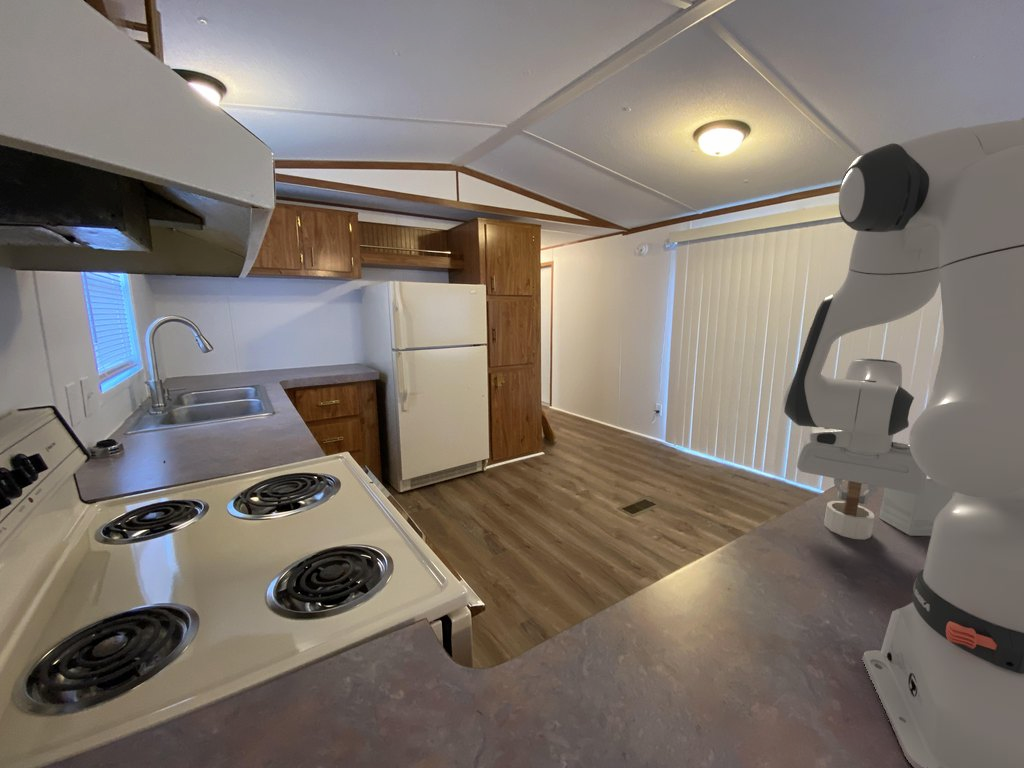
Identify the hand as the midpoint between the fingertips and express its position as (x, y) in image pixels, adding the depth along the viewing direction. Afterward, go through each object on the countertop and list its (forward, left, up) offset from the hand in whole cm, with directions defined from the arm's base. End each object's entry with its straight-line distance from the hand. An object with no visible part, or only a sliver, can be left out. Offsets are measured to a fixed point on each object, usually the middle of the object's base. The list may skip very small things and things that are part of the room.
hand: (851, 500), depth 85 cm
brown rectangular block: (0, 0, -4) cm, 4 cm away
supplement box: (+9, -11, -7) cm, 16 cm away
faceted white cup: (0, 0, -7) cm, 7 cm away
